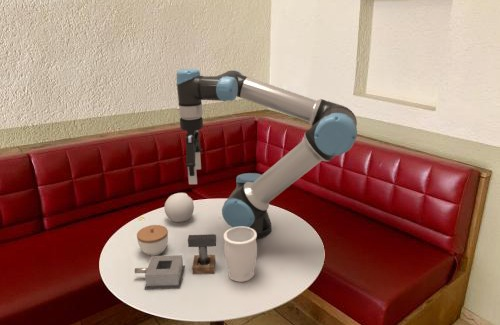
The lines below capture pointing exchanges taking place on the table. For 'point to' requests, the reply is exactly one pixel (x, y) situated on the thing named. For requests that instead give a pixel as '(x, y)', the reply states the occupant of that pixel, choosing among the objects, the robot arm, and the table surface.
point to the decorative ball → (179, 207)
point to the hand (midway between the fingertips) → (195, 176)
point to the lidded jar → (153, 239)
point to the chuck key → (202, 245)
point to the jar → (240, 252)
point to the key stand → (203, 268)
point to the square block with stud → (163, 272)
